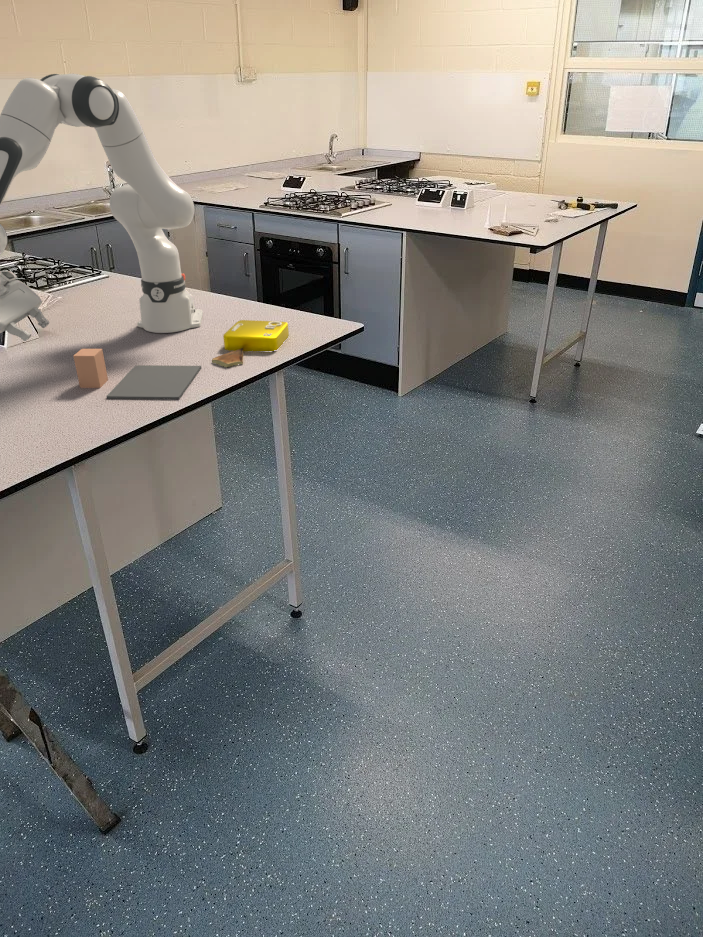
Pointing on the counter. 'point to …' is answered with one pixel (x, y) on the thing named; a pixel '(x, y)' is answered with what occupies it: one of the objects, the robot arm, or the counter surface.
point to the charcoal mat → (155, 382)
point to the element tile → (256, 335)
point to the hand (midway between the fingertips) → (38, 331)
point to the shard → (229, 358)
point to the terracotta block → (90, 368)
